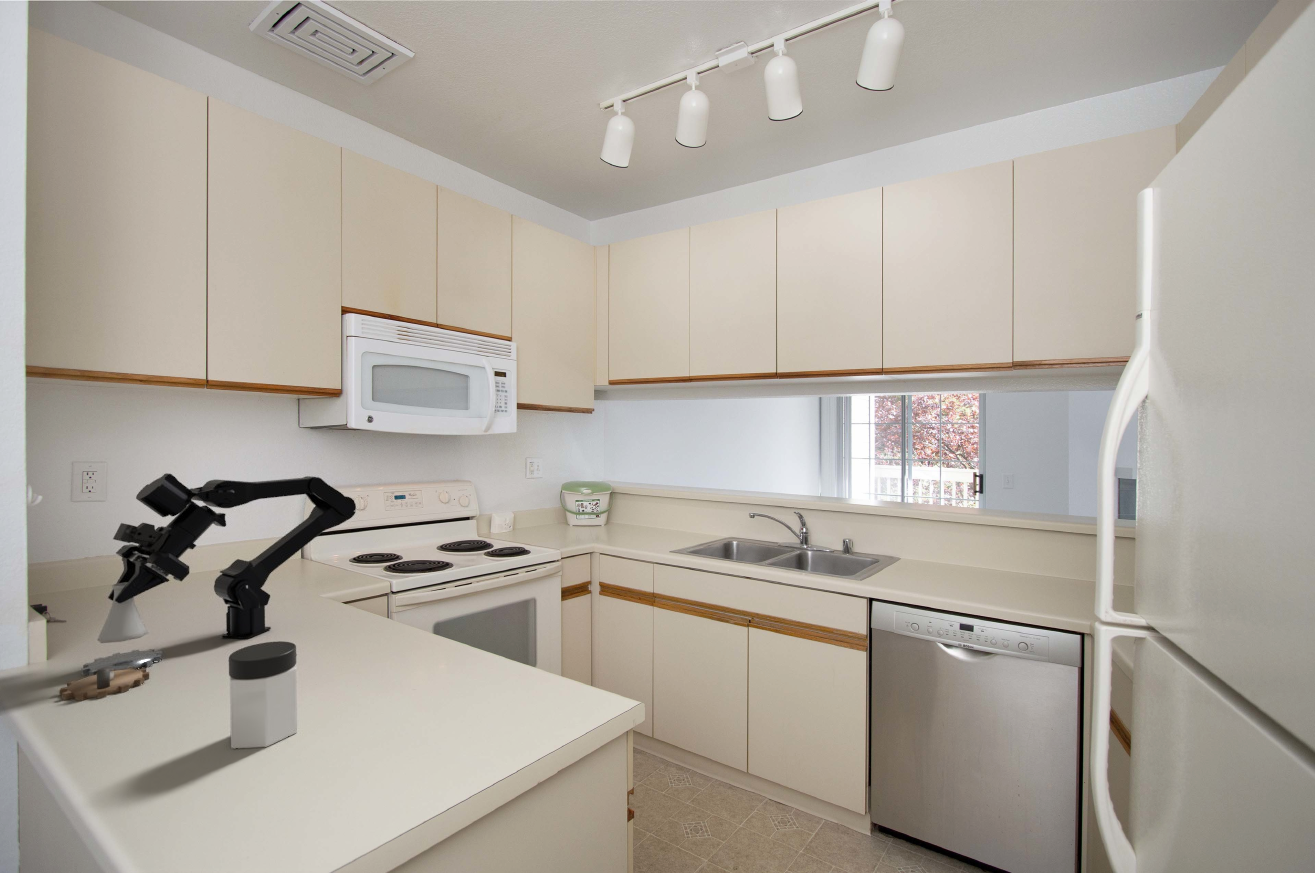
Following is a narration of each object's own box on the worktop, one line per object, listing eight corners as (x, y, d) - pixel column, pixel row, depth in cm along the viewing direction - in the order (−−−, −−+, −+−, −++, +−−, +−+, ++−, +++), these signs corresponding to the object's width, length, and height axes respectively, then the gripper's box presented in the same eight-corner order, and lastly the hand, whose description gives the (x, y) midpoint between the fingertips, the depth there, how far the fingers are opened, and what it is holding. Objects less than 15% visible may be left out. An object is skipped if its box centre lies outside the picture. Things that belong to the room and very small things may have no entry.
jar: (310, 719, 93) (309, 639, 92) (283, 747, 84) (282, 659, 84) (247, 722, 92) (246, 641, 92) (213, 750, 84) (212, 662, 83)
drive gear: (165, 674, 110) (165, 652, 110) (100, 702, 99) (99, 677, 99) (111, 671, 112) (111, 649, 112) (41, 698, 101) (40, 673, 100)
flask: (146, 639, 114) (146, 585, 114) (93, 647, 110) (93, 590, 110) (150, 629, 120) (150, 577, 120) (100, 636, 116) (100, 582, 116)
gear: (177, 655, 119) (177, 650, 119) (118, 678, 108) (118, 673, 108) (127, 652, 121) (127, 647, 121) (64, 675, 110) (63, 670, 110)
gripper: (128, 503, 123) (54, 570, 114) (167, 509, 113) (89, 583, 104) (176, 536, 130) (110, 602, 120) (217, 545, 119) (149, 617, 110)
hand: (113, 600), depth 114 cm, fingers closed on flask, 3 cm apart
